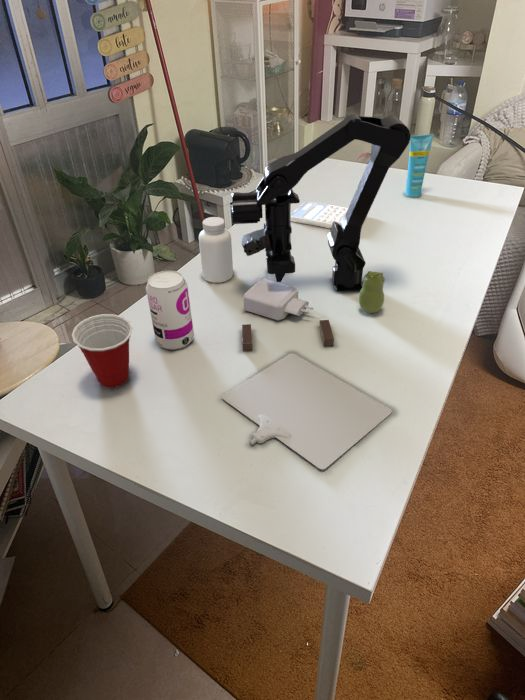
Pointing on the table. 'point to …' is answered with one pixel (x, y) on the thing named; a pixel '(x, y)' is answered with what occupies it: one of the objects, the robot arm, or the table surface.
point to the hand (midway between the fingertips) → (278, 281)
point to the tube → (417, 163)
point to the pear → (372, 292)
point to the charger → (274, 300)
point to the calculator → (318, 214)
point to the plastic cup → (105, 347)
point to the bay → (323, 325)
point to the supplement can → (170, 309)
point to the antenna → (306, 409)
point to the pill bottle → (215, 250)
